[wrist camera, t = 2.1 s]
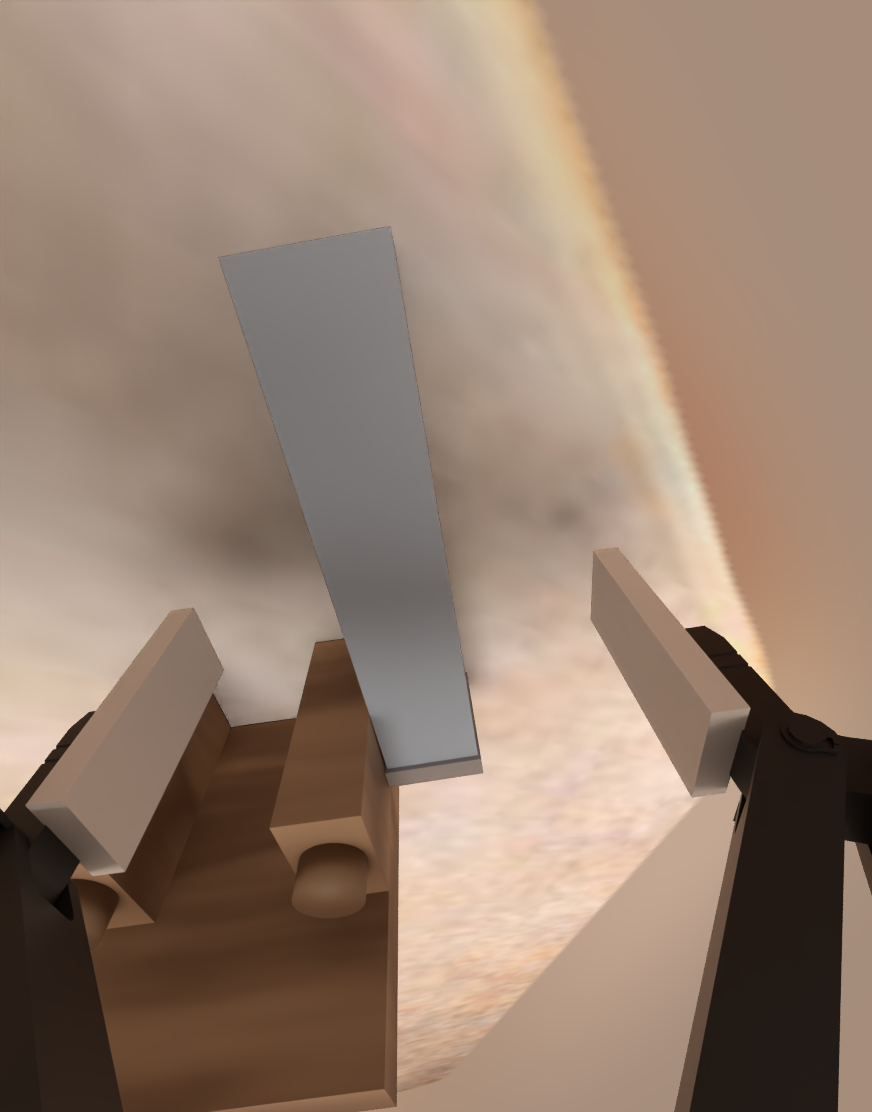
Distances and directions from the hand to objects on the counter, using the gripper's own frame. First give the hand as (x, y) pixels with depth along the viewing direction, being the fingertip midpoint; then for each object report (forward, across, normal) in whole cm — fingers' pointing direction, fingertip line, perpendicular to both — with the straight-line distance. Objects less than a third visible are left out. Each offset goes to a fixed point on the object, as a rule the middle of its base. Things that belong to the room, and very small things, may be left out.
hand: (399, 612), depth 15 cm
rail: (+6, 0, 0) cm, 6 cm away
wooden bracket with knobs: (+6, -8, -8) cm, 12 cm away
